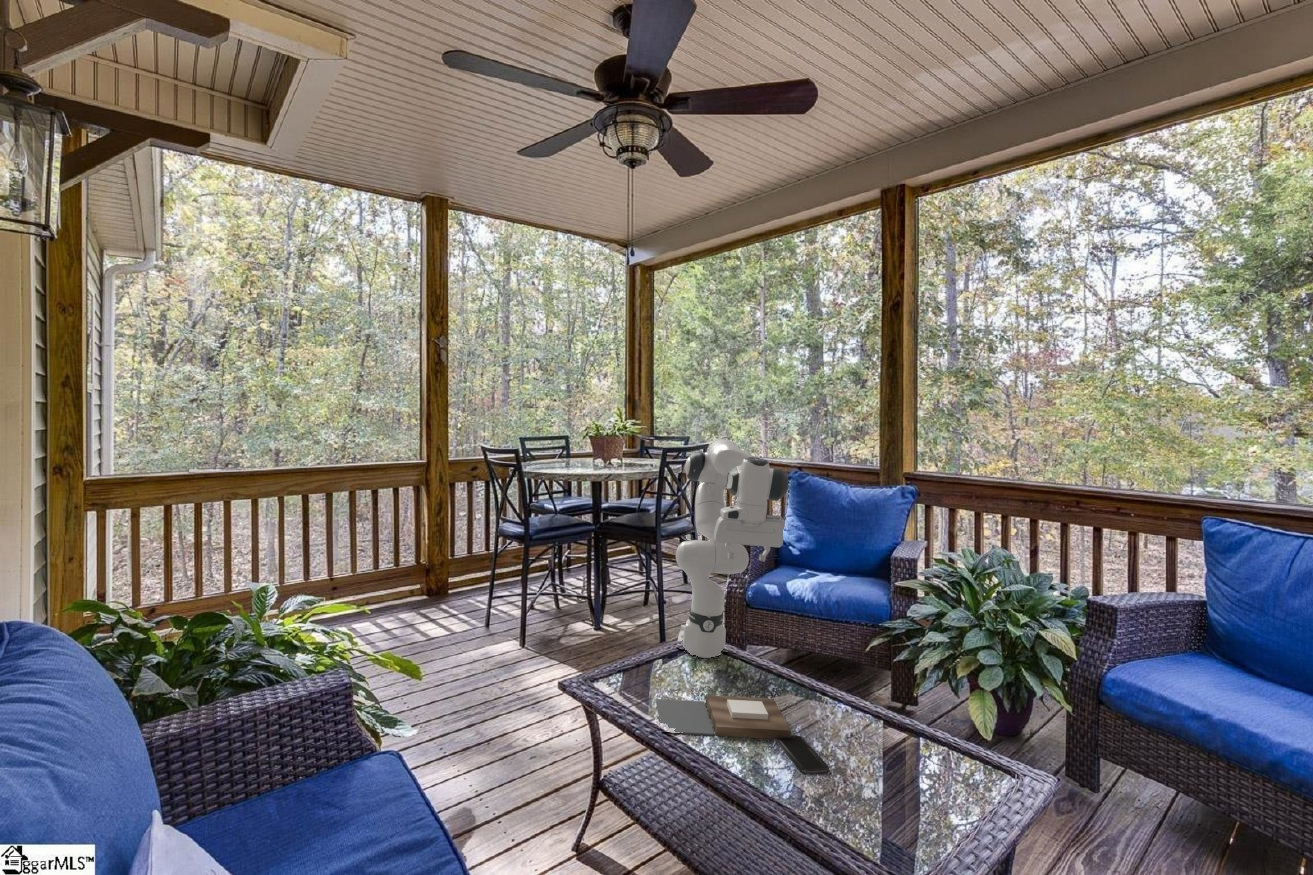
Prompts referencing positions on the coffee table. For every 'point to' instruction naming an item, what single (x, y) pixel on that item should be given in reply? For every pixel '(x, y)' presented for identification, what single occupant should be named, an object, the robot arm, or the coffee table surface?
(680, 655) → the coffee table surface
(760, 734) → the wooden board
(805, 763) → the phone
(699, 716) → the mat
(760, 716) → the tile
